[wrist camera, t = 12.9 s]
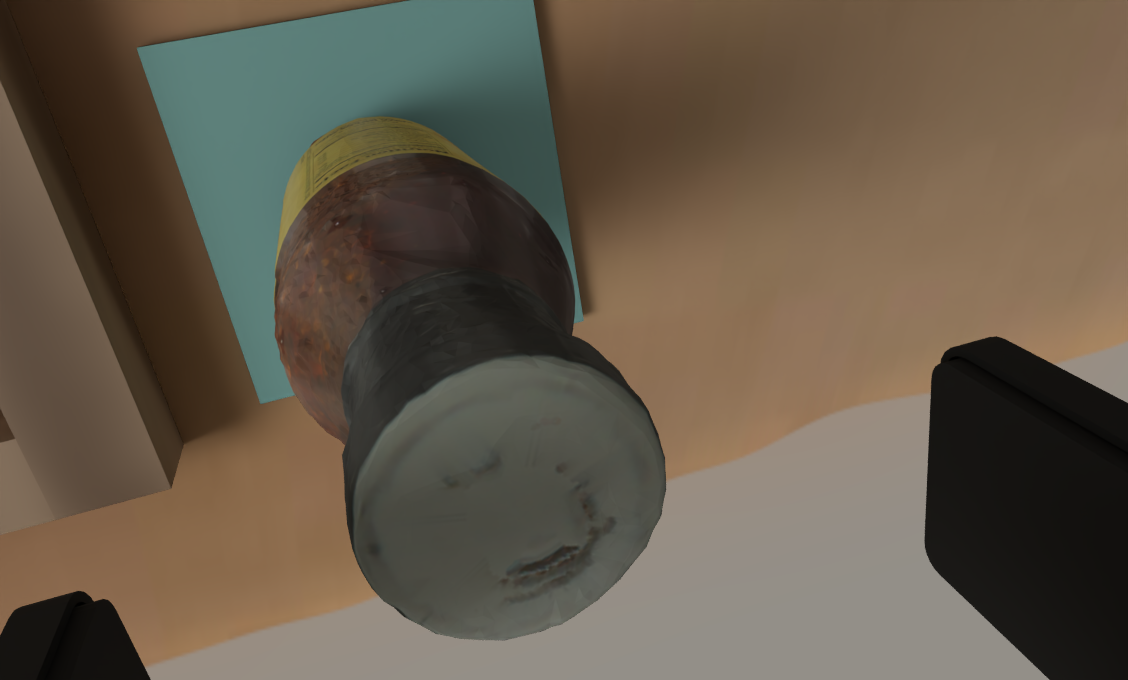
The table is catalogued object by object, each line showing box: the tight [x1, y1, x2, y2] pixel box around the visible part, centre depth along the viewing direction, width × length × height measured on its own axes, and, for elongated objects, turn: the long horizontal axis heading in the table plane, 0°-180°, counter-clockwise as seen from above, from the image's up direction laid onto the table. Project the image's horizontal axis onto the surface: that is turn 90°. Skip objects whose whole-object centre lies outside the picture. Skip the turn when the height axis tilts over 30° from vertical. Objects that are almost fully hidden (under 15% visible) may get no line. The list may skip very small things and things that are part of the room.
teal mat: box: [137, 0, 584, 404], centre depth 28 cm, size 12×12×1 cm
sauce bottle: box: [274, 116, 666, 640], centre depth 19 cm, size 7×6×20 cm
